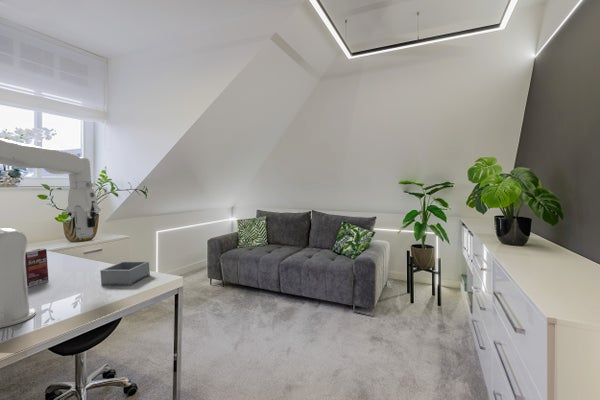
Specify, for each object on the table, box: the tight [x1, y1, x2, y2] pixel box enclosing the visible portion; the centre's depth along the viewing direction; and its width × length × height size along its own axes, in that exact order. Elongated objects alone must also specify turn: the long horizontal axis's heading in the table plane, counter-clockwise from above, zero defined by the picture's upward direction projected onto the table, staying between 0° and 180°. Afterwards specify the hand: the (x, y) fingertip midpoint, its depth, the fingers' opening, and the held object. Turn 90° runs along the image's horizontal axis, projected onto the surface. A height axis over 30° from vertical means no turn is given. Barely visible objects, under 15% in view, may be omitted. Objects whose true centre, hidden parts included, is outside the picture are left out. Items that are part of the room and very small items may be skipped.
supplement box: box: [25, 248, 49, 288], centre depth 130 cm, size 9×5×16 cm, turn 168°
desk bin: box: [100, 261, 151, 287], centre depth 132 cm, size 14×14×7 cm
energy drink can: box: [74, 205, 94, 239], centre depth 121 cm, size 6×6×15 cm
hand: (84, 226), depth 122 cm, fingers closed on energy drink can, 6 cm apart
